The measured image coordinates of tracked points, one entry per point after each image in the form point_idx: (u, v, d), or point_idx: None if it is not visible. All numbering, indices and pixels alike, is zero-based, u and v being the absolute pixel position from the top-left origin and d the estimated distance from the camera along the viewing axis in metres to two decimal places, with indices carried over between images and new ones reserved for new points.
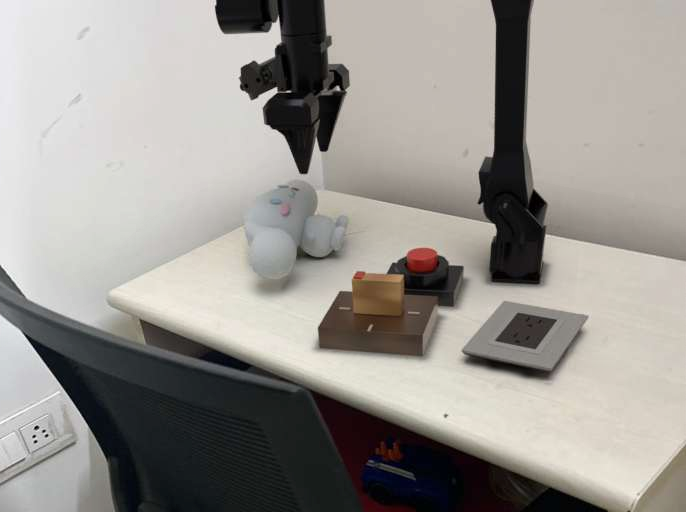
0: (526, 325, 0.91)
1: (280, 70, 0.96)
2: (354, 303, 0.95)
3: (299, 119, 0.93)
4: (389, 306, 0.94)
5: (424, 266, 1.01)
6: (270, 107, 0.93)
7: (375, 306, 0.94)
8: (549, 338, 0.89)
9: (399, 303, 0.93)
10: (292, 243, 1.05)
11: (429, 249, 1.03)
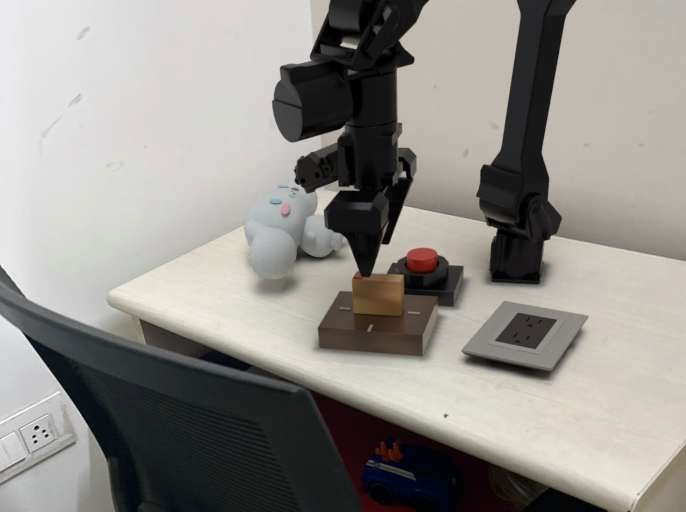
0: (526, 325, 0.91)
1: (343, 163, 0.83)
2: (354, 303, 0.95)
3: (367, 224, 0.80)
4: (389, 306, 0.94)
5: (424, 266, 1.01)
6: (333, 210, 0.80)
7: (375, 306, 0.94)
8: (549, 338, 0.89)
9: (399, 303, 0.93)
10: (292, 243, 1.05)
11: (429, 249, 1.03)
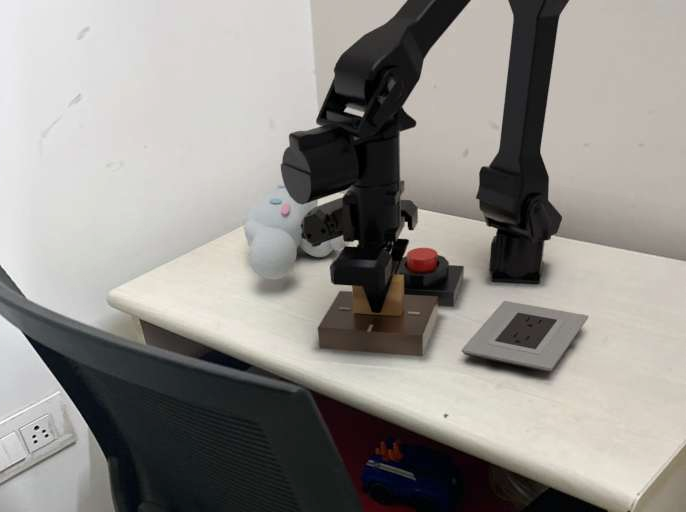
0: (526, 325, 0.91)
1: (348, 220, 0.86)
2: (354, 303, 0.95)
3: (372, 281, 0.83)
4: (389, 306, 0.94)
5: (424, 266, 1.01)
6: (339, 267, 0.83)
7: None
8: (549, 338, 0.89)
9: (399, 303, 0.93)
10: (292, 243, 1.05)
11: (429, 249, 1.03)
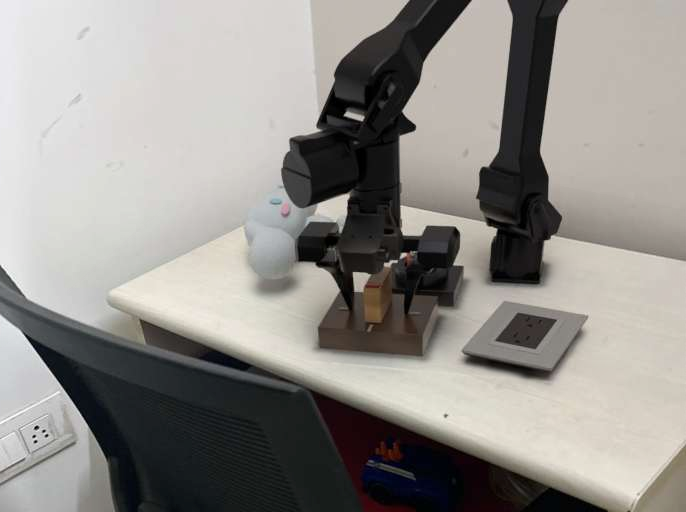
0: (526, 325, 0.91)
1: (395, 224, 0.85)
2: (380, 312, 0.93)
3: (458, 245, 0.89)
4: (389, 296, 0.96)
5: None
6: (453, 247, 0.86)
7: (386, 303, 0.95)
8: (549, 338, 0.89)
9: (391, 288, 0.96)
10: (292, 243, 1.05)
11: None
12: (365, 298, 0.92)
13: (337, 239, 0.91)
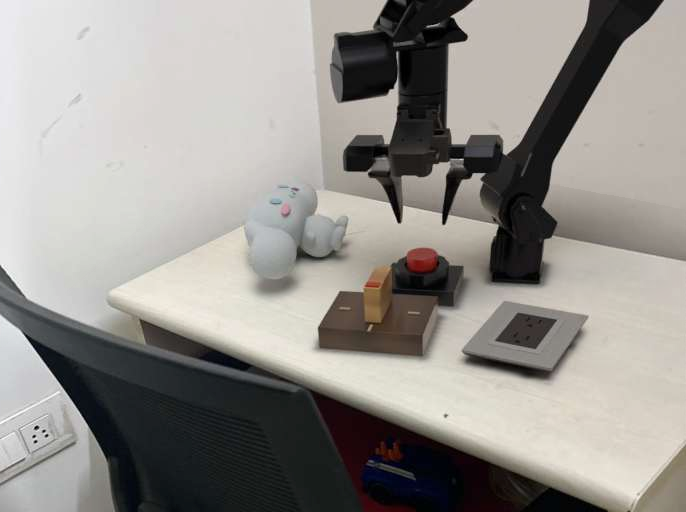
0: (526, 325, 0.91)
1: None
2: (380, 312, 0.93)
3: (502, 154, 0.93)
4: (389, 296, 0.96)
5: (424, 266, 1.01)
6: (498, 151, 0.89)
7: (386, 303, 0.95)
8: (549, 338, 0.89)
9: (391, 288, 0.96)
10: (292, 243, 1.05)
11: (429, 249, 1.03)
12: (365, 298, 0.92)
13: (384, 149, 0.94)
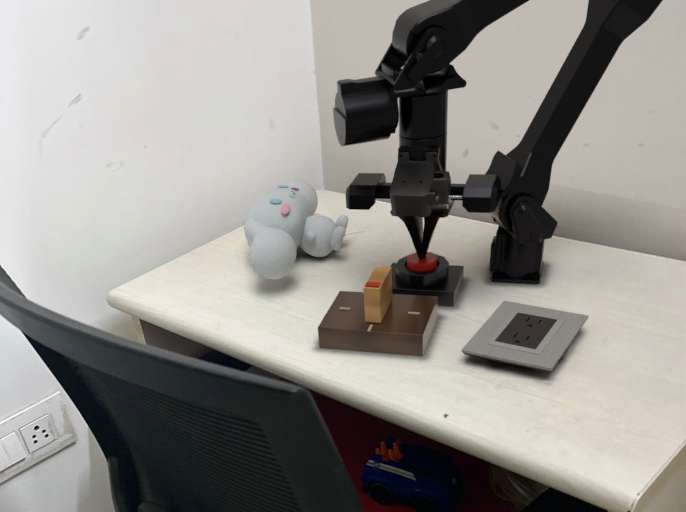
0: (526, 325, 0.91)
1: (442, 171, 0.92)
2: (380, 312, 0.93)
3: (499, 193, 0.96)
4: (389, 296, 0.96)
5: (424, 270, 1.01)
6: (496, 192, 0.92)
7: (386, 303, 0.95)
8: (549, 338, 0.89)
9: (391, 288, 0.96)
10: (292, 243, 1.05)
11: (429, 253, 1.03)
12: (365, 298, 0.92)
13: (385, 188, 0.97)
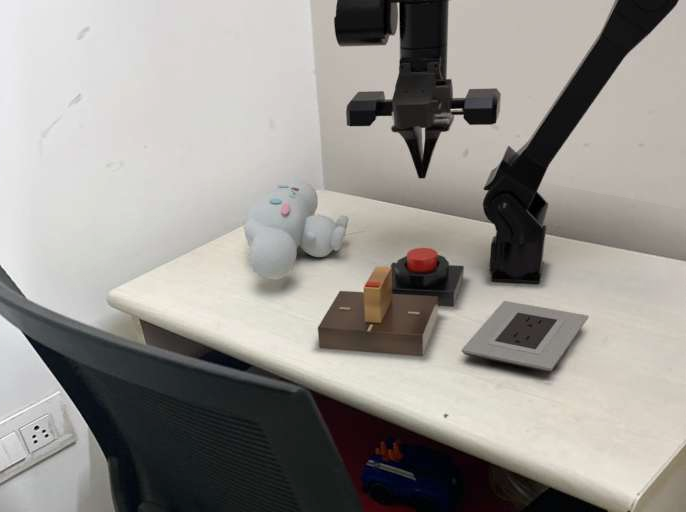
0: (526, 325, 0.91)
1: None
2: (380, 312, 0.93)
3: (499, 107, 0.96)
4: (389, 296, 0.96)
5: (424, 266, 1.01)
6: (497, 103, 0.93)
7: (386, 303, 0.95)
8: (549, 338, 0.89)
9: (391, 288, 0.96)
10: (292, 243, 1.05)
11: (429, 249, 1.03)
12: (365, 298, 0.92)
13: (386, 104, 0.97)
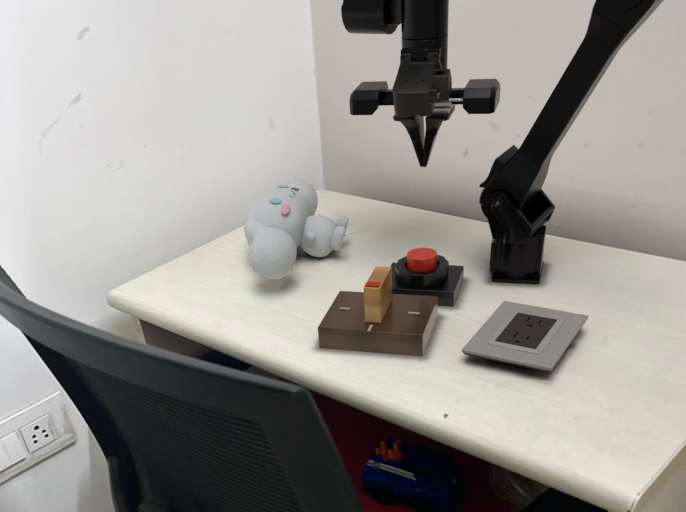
0: (526, 325, 0.91)
1: None
2: (380, 312, 0.93)
3: (499, 97, 0.99)
4: (389, 296, 0.96)
5: (424, 266, 1.01)
6: (495, 93, 0.95)
7: (386, 303, 0.95)
8: (549, 338, 0.89)
9: (391, 288, 0.96)
10: (292, 243, 1.05)
11: (429, 249, 1.03)
12: (365, 298, 0.92)
13: (388, 94, 1.00)
